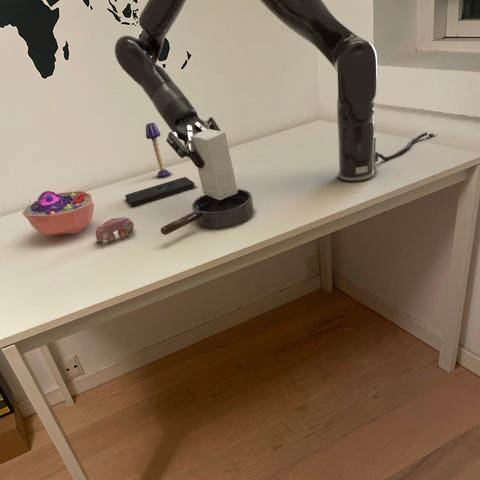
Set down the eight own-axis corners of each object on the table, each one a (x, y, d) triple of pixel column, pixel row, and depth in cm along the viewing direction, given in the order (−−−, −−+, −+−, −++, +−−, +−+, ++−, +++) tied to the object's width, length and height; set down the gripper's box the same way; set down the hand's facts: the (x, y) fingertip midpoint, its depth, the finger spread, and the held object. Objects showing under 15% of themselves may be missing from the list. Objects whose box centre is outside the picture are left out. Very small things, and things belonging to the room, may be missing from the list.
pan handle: (198, 216, 118) (197, 208, 117) (203, 217, 117) (202, 210, 116) (160, 235, 113) (157, 227, 111) (164, 237, 111) (162, 229, 110)
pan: (227, 201, 132) (224, 185, 129) (266, 211, 122) (263, 194, 119) (184, 222, 124) (180, 205, 122) (222, 234, 114) (218, 217, 112)
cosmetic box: (238, 193, 118) (228, 131, 109) (218, 201, 115) (206, 139, 107) (221, 186, 124) (210, 127, 115) (201, 194, 122) (188, 134, 113)
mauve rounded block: (101, 251, 121) (96, 232, 115) (95, 239, 123) (89, 220, 117) (138, 238, 124) (135, 219, 118) (131, 226, 126) (128, 207, 120)
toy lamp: (154, 178, 159) (140, 126, 149) (160, 173, 162) (147, 122, 153) (166, 178, 157) (153, 125, 148) (173, 172, 160) (160, 121, 151)
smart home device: (194, 182, 144) (131, 201, 138) (195, 187, 145) (132, 207, 139) (185, 176, 150) (124, 194, 145) (186, 181, 151) (125, 199, 146)
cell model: (70, 250, 121) (53, 208, 115) (22, 241, 131) (4, 202, 125) (116, 221, 132) (103, 182, 126) (68, 215, 142) (54, 178, 136)
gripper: (153, 104, 109) (195, 161, 108) (201, 88, 116) (241, 142, 115) (146, 126, 116) (186, 181, 115) (192, 110, 123) (230, 161, 122)
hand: (213, 161), depth 115 cm, fingers closed on cosmetic box, 6 cm apart
